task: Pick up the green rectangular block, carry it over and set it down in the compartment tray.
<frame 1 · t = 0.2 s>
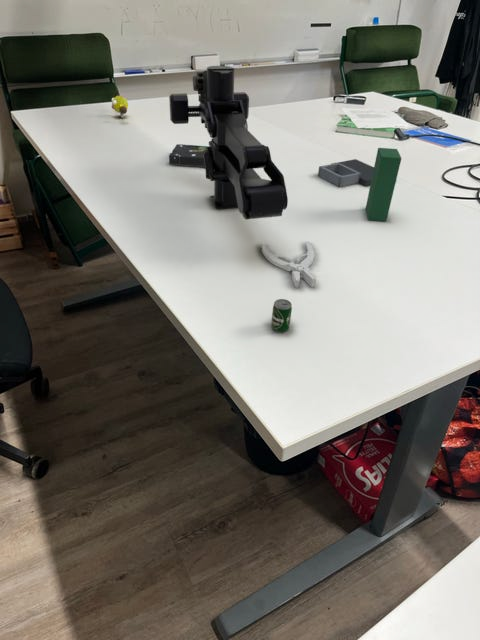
hand: (202, 99, 119), 17 cm above the table, tool horizontal, fingers open, 9 cm apart
disk drive: (199, 161, 132), on the table
compartment tray: (338, 179, 125), on the table
toy figure: (121, 118, 165), on the table
beer can: (280, 328, 74), on the table
pliers: (294, 266, 89), on the table
green rectangular block: (375, 215, 108), on the table
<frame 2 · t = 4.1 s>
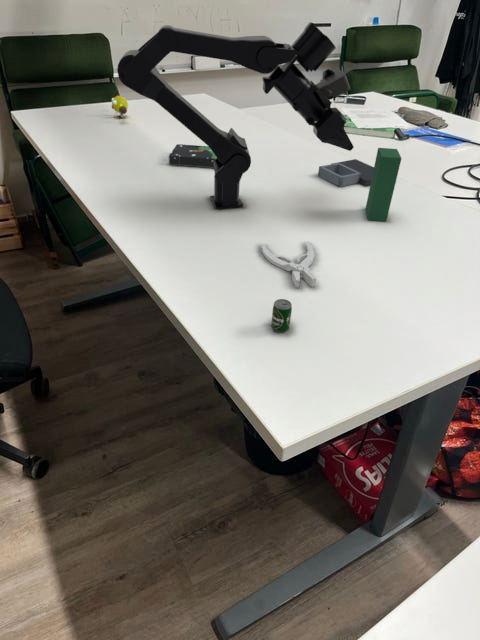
hand: (346, 142, 104), 14 cm above the table, tool tilted 50°, fingers open, 9 cm apart
nothing on the table moved.
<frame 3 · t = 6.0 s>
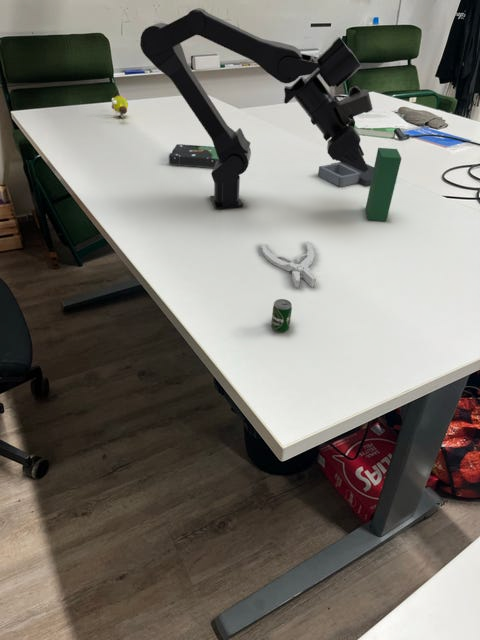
hand: (364, 163, 101), 11 cm above the table, tool tilted 45°, fingers open, 9 cm apart
nothing on the table moved.
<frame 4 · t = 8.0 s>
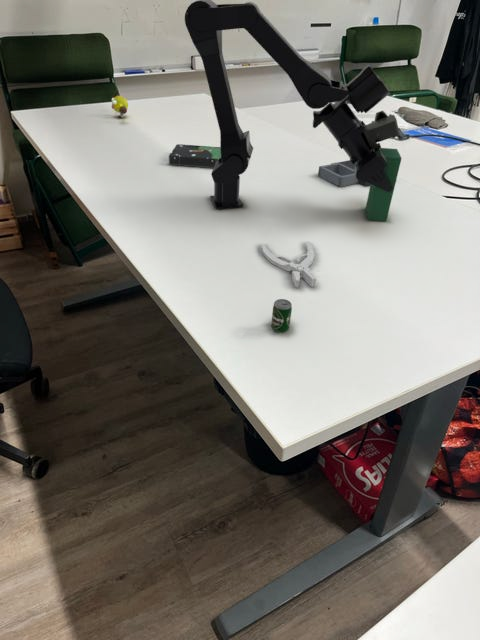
hand: (388, 185, 104), 7 cm above the table, tool tilted 45°, fingers closed on green rectangular block, 6 cm apart
green rectangular block: (375, 215, 108), on the table, touching gripper
everything else where it was.
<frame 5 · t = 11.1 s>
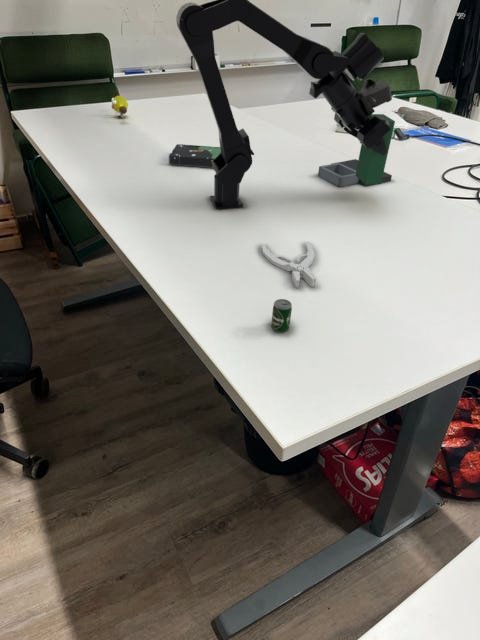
hand: (379, 149, 109), 11 cm above the table, tool tilted 45°, fingers closed on green rectangular block, 6 cm apart
green rectangular block: (368, 179, 113), point 4 cm above the table, touching gripper
everything else where it was.
when the fingers open (7 cm above the table, at t = 14.5 s): green rectangular block stays where it is, resting in compartment tray.
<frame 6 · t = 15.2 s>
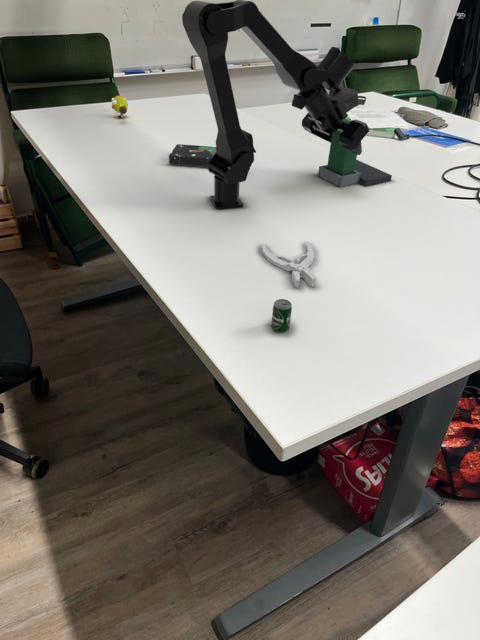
hand: (347, 148, 121), 8 cm above the table, tool tilted 45°, fingers open, 9 cm apart
green rectangular block: (338, 179, 125), resting in compartment tray
everything else where it was.
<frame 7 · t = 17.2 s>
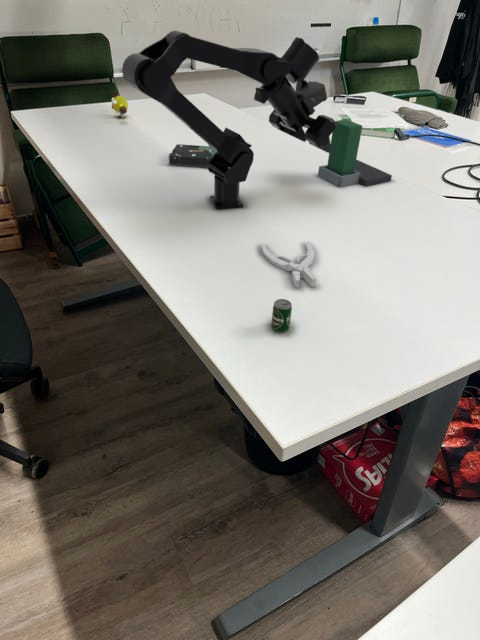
hand: (317, 145, 115), 10 cm above the table, tool tilted 45°, fingers open, 9 cm apart
nothing on the table moved.
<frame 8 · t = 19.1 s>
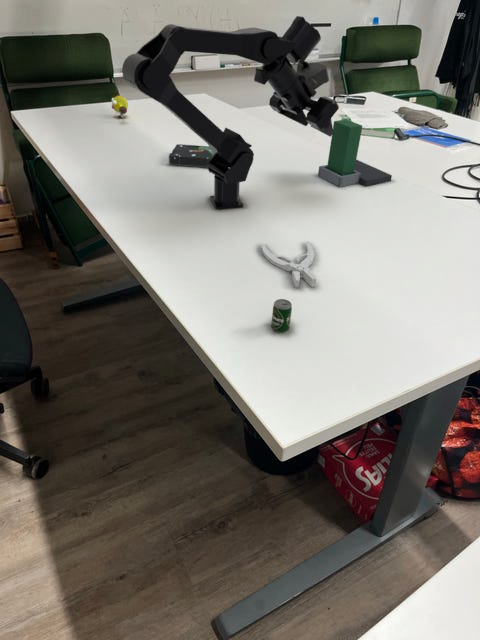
hand: (319, 129, 113), 14 cm above the table, tool tilted 45°, fingers open, 9 cm apart
nothing on the table moved.
at the end: green rectangular block 0.1 cm off-centre on the compartment tray, point 0.0 cm above the compartment tray's base; green rectangular block tilted 0°; the gripper is holding nothing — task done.
